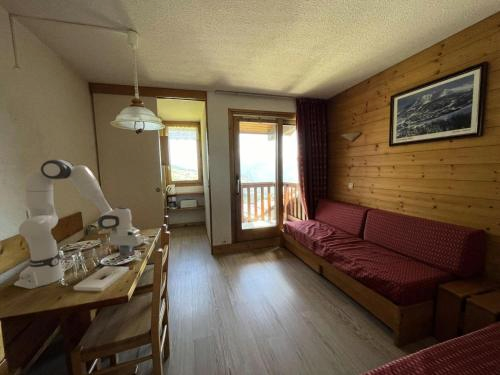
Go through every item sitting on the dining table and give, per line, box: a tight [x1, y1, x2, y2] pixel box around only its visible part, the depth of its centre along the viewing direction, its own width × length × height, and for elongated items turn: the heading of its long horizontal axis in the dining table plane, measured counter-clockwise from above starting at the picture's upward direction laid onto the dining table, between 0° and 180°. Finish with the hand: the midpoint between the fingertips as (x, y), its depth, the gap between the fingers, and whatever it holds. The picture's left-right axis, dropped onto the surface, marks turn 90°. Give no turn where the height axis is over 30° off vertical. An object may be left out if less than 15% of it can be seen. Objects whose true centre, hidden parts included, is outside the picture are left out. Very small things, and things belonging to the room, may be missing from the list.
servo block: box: [118, 245, 133, 259], centre depth 141 cm, size 4×10×8 cm, turn 175°
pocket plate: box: [73, 265, 130, 292], centre depth 123 cm, size 16×22×2 cm
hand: (126, 251), depth 141 cm, fingers closed on servo block, 4 cm apart
